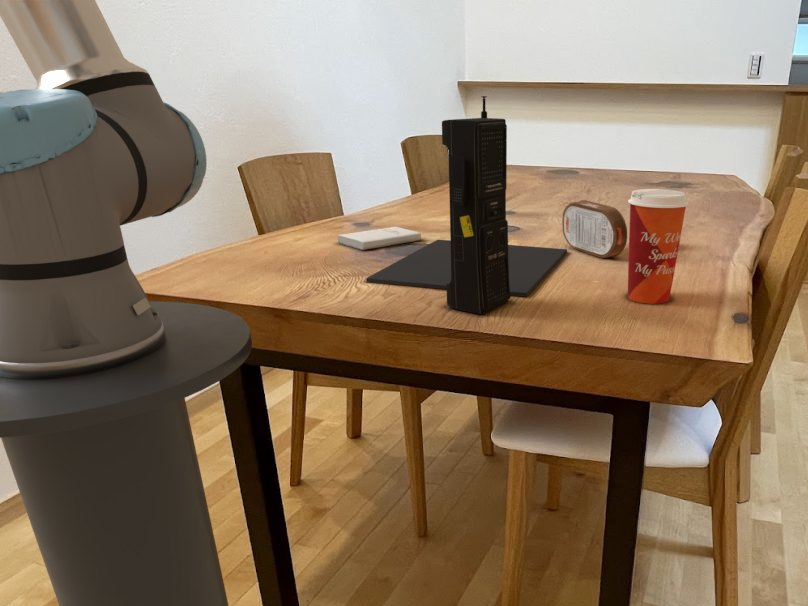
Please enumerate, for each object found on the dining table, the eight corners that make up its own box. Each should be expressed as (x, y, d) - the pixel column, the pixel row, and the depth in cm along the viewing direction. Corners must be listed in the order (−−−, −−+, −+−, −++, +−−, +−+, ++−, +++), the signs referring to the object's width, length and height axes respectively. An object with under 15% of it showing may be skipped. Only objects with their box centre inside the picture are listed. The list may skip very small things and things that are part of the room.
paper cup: (639, 308, 86) (650, 198, 80) (609, 292, 92) (617, 189, 86) (689, 302, 88) (703, 195, 83) (657, 287, 95) (668, 187, 89)
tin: (626, 261, 109) (631, 209, 106) (612, 263, 108) (616, 210, 104) (572, 243, 121) (574, 196, 117) (558, 245, 119) (560, 197, 116)
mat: (366, 282, 96) (365, 278, 95) (437, 242, 120) (437, 239, 120) (526, 297, 90) (526, 292, 89) (567, 252, 114) (567, 249, 114)
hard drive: (338, 243, 119) (394, 234, 127) (363, 251, 113) (421, 240, 121) (337, 234, 118) (394, 225, 126) (363, 241, 113) (420, 231, 121)
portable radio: (480, 318, 81) (479, 97, 71) (440, 310, 84) (434, 96, 74) (512, 302, 87) (516, 97, 77) (474, 295, 90) (472, 95, 80)
